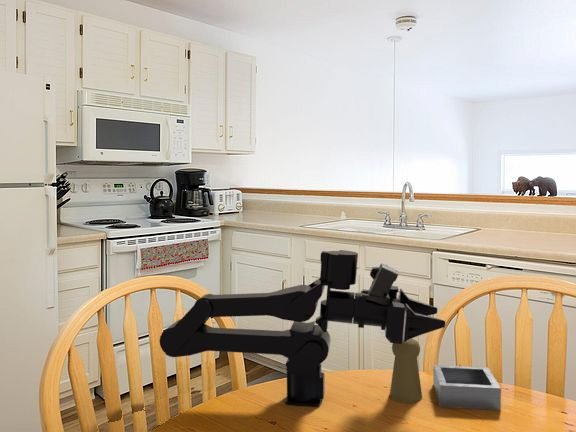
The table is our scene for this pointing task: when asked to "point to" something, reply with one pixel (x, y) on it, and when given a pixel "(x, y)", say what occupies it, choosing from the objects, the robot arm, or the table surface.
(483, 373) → the open gray box
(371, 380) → the table surface
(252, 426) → the table surface
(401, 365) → the olive pawn
